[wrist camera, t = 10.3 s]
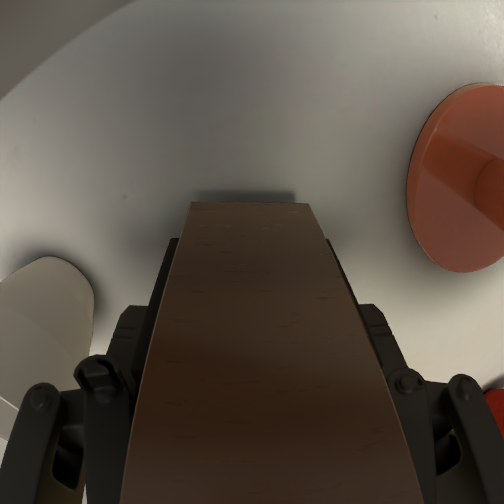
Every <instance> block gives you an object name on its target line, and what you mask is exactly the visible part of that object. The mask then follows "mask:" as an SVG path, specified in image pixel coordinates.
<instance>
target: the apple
mask: <svg viewBox="0 0 504 504" xmlns="http://www.w3.org/2000/svg"><path fill="white" fill-rule="evenodd" d="M484 396H485V398H486V401H487V403H488V405H489V407H490V409H491V411H492V414H493V416H494V418H495V420H496V423H497V425H498V427H499V430H500V432H501V434H502V437H503V439H504V389H491V390H489V391H488V392H486V393H485V394H484Z"/></svg>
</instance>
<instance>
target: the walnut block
mask: <svg viewBox="0 0 504 504" xmlns="http://www.w3.org/2000/svg"><path fill="white" fill-rule="evenodd" d="M119 504H424V500H423V497H422V493H421V489H420V485H419V482H418V478H417V475H416V471H415V468H414V464H413V461H412V458H411V454H410V451H409V448H408V445H407V442H406V439H405V435H404V432H403V429H402V426H401V423H400V420H399V417H398V414H397V411H396V409H395V406H394V403H393V400H392V397H391V394H390V392H389V389H388V386H387V383H386V381H385V378H384V375H383V373H382V370H381V367H380V365H379V362H378V359H377V357H376V354H375V352H374V349H373V347H372V344H371V342H370V339H369V337H368V334H367V332H366V329H365V327H364V324H363V322H362V319H361V317H360V315H359V312H358V310H357V308H356V305H355V303H354V301H353V298H352V296H351V294H350V291H349V289H348V287H347V284H346V282H345V280H344V278H343V275H342V273H341V271H340V269H339V267H338V264H337V262H336V260H335V258H334V256H333V254H332V251H331V249H330V247H329V245H328V243H327V241H326V239H325V237H324V234H323V232H322V230H321V228H320V226H319V224H318V222H317V220H316V218H315V216H314V214H313V212H312V210H311V208H310V206H309V204H306V203H271V202H191V204H190V207H189V210H188V213H187V216H186V220H185V223H184V226H183V229H182V232H181V235H180V238H179V241H178V245H177V248H176V251H175V254H174V258H173V261H172V264H171V268H170V271H169V275H168V278H167V281H166V285H165V288H164V292H163V296H162V299H161V303H160V306H159V310H158V314H157V318H156V321H155V325H154V329H153V333H152V337H151V341H150V345H149V349H148V353H147V357H146V362H145V366H144V370H143V375H142V379H141V384H140V388H139V393H138V398H137V402H136V407H135V412H134V417H133V422H132V428H131V433H130V438H129V444H128V450H127V456H126V462H125V468H124V475H123V481H122V488H121V496H120V503H119Z"/></svg>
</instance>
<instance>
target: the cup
mask: <svg viewBox="0 0 504 504" xmlns="http://www.w3.org/2000/svg"><path fill="white" fill-rule="evenodd" d="M93 315H94V294H93V290H92V288H91V286H90V284H89V282H88V281H87V279H86V278H85V276H84V275H83V274H82V273H81V272H80V271H79V270H78V269H77V268H76V267H74V266H73V265H72V264H70V263H68V262H67V261H65V260H62V259H60V258H56V257H42V258H40V259H38V260H36V261H34V262H32V263H30V264H28V265H26V266H24V267H22V268H20V269H19V270H17V271H15V272H13V273H11V274H10V275H9V276H8V277H6V278H5V279H4V280H3V281H2V282H0V437H1V438H3V439H5V440H7V441H8V440H9V437H10V434H11V431H12V428H13V425H14V422H15V420H16V417H17V414H18V411H19V409H20V406H21V403H22V401H23V398H24V396H25V394H26V392H27V391H28V389H30V388H31V387H32V386H33V385H35V384H38V383H41V382H45V383H50V384H52V385H54V386H55V387H56V388H57V390H58V391H67V390H74V389H80V386H79V385H78V383H77V381H76V380H75V378H74V377H73V374H74V370H75V368H76V366H77V365H78V364H79V363H80V361H82V360H84V359H85V358H87V357H89V352H90V346H91V341H92V335H93Z"/></svg>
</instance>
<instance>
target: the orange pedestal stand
mask: <svg viewBox="0 0 504 504" xmlns="http://www.w3.org/2000/svg"><path fill="white" fill-rule="evenodd" d="M406 198H407V211H408V216H409V222H410V225H411V228H412V231H413V234H414V236H415V238H416V240H417V242H418V243H419V245H420V246H421V248H422V249H423V250H424V251H425V253H426V254H427V255H428V256H429V257H430V258H431V259H432V260H433V261H434V262H435V263H436V264H437V265H439V266H440V267H442V268H444V269H447V270H449V271H454V272H463V273H465V272H473V271H477V270H480V269H483V268H485V267H487V266H489V265H491V264H493V263H495V262H496V261H498V260H499V259H501V258H502V257H503V256H504V86H499V85H495V84H490V83H475V84H471V85H467V86H465V87H462V88H460V89H458V90H456V91H455V92H453V93H452V94H451V95H449V96H448V97H447V98H446V99H445V100H444V101H442V102H441V103H440V104H439V105H438V107H437V108H436V109H435V110H434V112H433V113H432V114H431V116H430V117H429V119H428V121H427V122H426V124H425V125H424V127H423V129H422V131H421V134H420V136H419V138H418V140H417V143H416V146H415V148H414V151H413V154H412V158H411V162H410V166H409V172H408V179H407V193H406Z"/></svg>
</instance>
